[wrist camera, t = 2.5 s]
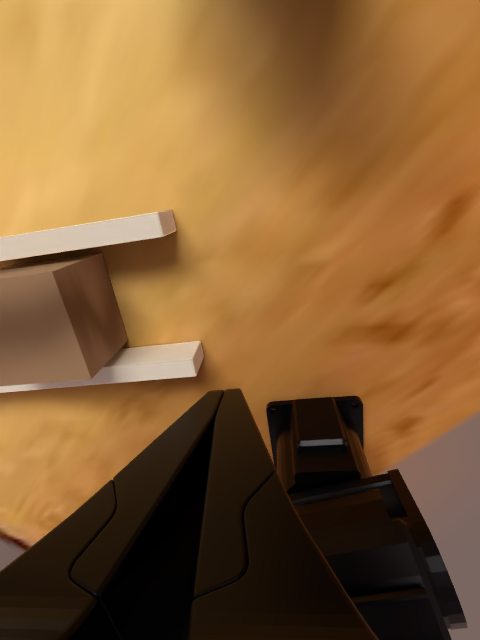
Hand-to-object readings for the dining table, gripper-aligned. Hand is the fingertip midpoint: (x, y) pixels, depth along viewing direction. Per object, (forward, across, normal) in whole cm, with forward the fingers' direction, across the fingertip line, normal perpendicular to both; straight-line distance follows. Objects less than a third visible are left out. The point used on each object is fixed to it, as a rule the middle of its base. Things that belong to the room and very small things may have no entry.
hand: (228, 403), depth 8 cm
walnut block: (+12, +12, 0) cm, 17 cm away
